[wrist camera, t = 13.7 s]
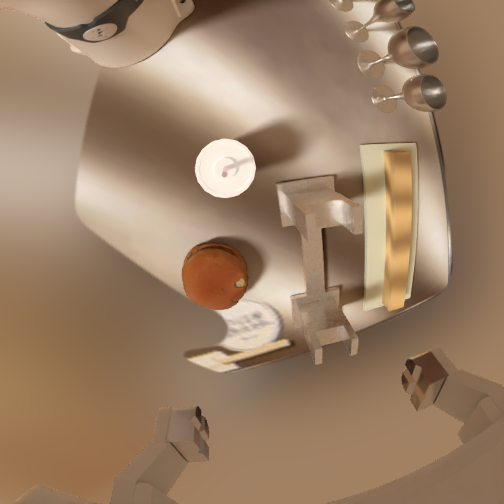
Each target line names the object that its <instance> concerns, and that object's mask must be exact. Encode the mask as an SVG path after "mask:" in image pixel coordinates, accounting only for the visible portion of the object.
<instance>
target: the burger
mask: <svg viewBox="0 0 504 504" xmlns="http://www.w3.org/2000/svg"><path fill="white" fill-rule="evenodd" d="M246 272H247V266H246V262H245V261H244V258H243V257H242V255H240V253H239V252H238V251H237V250H236V249H234V248H232V247H230V246H228V245H220V244H217V243H216V244H214V243H209V244H203V245H200V246H196V247H193V248H192V249H191V250H190V251H189V253H188V254H187V256H186V258H185V260H184V265H183V268H182V280H183V285H184V290H185V292H186V295H187V296H188V297H189V299H190V300H191V301H193V302H194V303H196V304H198V305H200V306H203V307H207V308H210V309H214V310H224V309H229V308H231V307H232V306H234V305H236V304H237V303H238V302H239V299H241V298H242V297H243V295H244V293H245V290H246V287H247V286H248V275H247V273H246Z"/></svg>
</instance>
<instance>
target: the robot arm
mask: <svg viewBox="0 0 504 504" xmlns="http://www.w3.org/2000/svg"><path fill="white" fill-rule="evenodd" d="M181 1H185V2H184V3H180V2H181ZM194 8H195V6H194V4H193V1H192V0H0V9H7V10H15V11H18V12H21V13H24V14H27V15H30V16H33V17H35V18H38V19H40V20H42V21H45V23H46V25H47V26H48V27H49V28H50V29H52V30H53V31H54V32H55V33H57V34H58V35H59V36H60V37H62V38H63V39H64V40H66V41H67V42H68V43H70V44H71V47H70V48H71V50H72V51H73V52H75V53H77V54H84V55H87V56H89V57H90V58H91V59H92V60H93V61H95V62H96V63H97V64H99V65H102V66H105V67H112V68H117V67H125V66H129V65H132V64H135V63H137V62H140V61H142V60H144V59H146V58H147V57H149V56H151V55H152V54H153V53H155V52H156V51H157V50H158V49H160V48H161V47H162V46H163V45H164V44H165V43H166V41H167V40H168V39H169V38H170V36H171V35H172V33H173V31H174V30H175V28H176V26H177V25H178V24H179V22H181V21H182V20H183V19H185V18H186V17H187V16H188V15H190V14H191V13H192V12H193V10H194ZM405 366H406V369H405V370H404V371H403V373H402V377H401V380H402V385H403V388H404V390H405V392H406V393H408V394H410V395H411V402H412V404H413V406H414V407H415V409H416V411H419V410H422V409H424V408H426V407H428V406H431V405H433V404H434V406H436V407H437V408H439V409H441V410H442V411H444V412H446V413H447V414H449V415H451V416H452V417H454V418H456V419H458V420H459V421H461V422H463V423H464V425H463V426H462V428H461V429H460V430H459V432H458V436H459V438H460V439H461V441H462V443H463V445H461V446H459V447H458V448H456V449H455V450H453V451H451V452H450V453H448V454H446V455H445V456H443V457H441V458H439V459H437V460H436V461H434V462H432V463H430V464H428V465H426V466H424V467H422V468H420V469H418V470H416V471H414V472H412V473H410V474H408V475H405V476H403V477H401V478H399V479H396V480H394V481H392V482H389V483H387V484H384V485H382V486H379V487H376V488H374V489H371V490H368V491H365V492H362V493H360V494H356V495H353V496H350V497H346V498H343V499H340V500H336V501H332V502H328V503H325V504H504V387H503V386H502V385H501V384H498V383H495V382H493V381H490V380H487V379H484V378H482V377H479V376H477V375H474V374H472V373H469V372H466V371H464V370H458V369H457V368H456V367H455V366H454V364H453V363H452V362H451V360H450V359H449V358H448V357H447V356H446V354H445V353H444V352H443V350H442V349H441V348H440V347H435V348H433V349H431V350H428V351H425V352H423V353H420V354H418V355H416V356H413V357H411V358H408V359H407V360H406V363H405ZM208 439H209V427H208V423H207V420H206V418H205V417H204V416H202V415H201V409H200V408H199V406H194V407H166V408H165V407H164V408H160V409H159V411H158V414H157V420H156V426H155V432H154V438H153V442H149V443H148V444H147V445H146V446H145V447H144V448H143V449H142V451H140V453H139V454H138V455H137V456H136V457H135V458H134V459H133V460H132V461H131V462H130V463H129V464H128V465H127V466H126V467H125V468H124V469H123V470H122V471H121V472H120V473H119V474H118V475H117V476H116V477H115V479H114V484H113V490H112V496H111V501H110V504H178V503H177V502H176V501H175V500H173V499H171V498H170V497H168V496H167V493H168V492H169V490H170V489H171V488H172V486H173V485H174V483H175V482H176V480H177V479H178V478H179V476H180V475H181V473H182V472H183V470H184V469H185V467H186V466H187V464H188V462H205V461H209V446H208V445H207V443H206V441H207V440H208ZM14 504H100V503H97V502H93V501H89V500H86V499H82V498H79V497H76V496H73V495H70V494H67V493H64V492H61V491H58V490H56V489H53V488H50V487H48V486H45V485H41V484H40V485H36V486H34V487H32V488H31V489H29V490H28V491H26V492H25V493H24V494H22V495H21V496H20V497H18V498H17V500H16V501H15V503H14Z"/></svg>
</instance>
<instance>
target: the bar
mask: <svg viewBox="0 0 504 504" xmlns="http://www.w3.org/2000/svg"><path fill="white" fill-rule="evenodd" d="M383 155H384V169H385V190H386V248H385V269H384V283H383V295H382V303H383V304H384V305H385V307H386V308H387V309H388V310H389V311H392V310H395V309H399V308H402V307H403V306H404V300H405V293H406V285H407V277H408V267H409V256H410V243H411V224H412V171H411V152H407V151H401V150H394V151H383Z"/></svg>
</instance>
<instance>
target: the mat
mask: <svg viewBox="0 0 504 504" xmlns="http://www.w3.org/2000/svg"><path fill="white" fill-rule="evenodd" d="M394 150H401V151H407V152H411V171H412V224H411V243H410V256H409V267H408V277H407V285H406V293H405V299H408V298H410V295H411V288H412V281H413V273H414V264H415V253H416V241H417V223H418V164H417V147H416V143H384V144H365V145H360V152H361V163H362V175H363V190H364V212H365V278H364V300H363V309H364V311H367V310H370V309H374V308H377V307H381V306H384V304H383V303H382V295H383V283H384V269H385V248H386V190H385V169H384V155H383V151H394Z"/></svg>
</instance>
